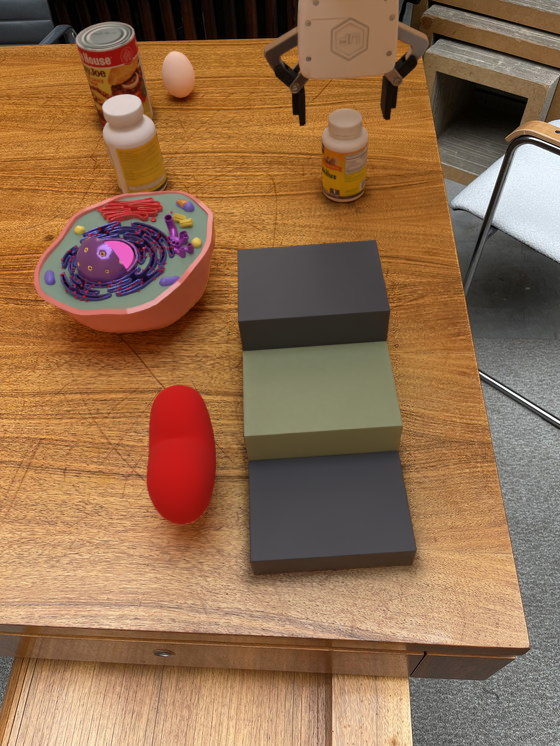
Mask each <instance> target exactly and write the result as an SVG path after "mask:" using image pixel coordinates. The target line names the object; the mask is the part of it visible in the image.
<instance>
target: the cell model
mask: <svg viewBox="0 0 560 746" xmlns="http://www.w3.org/2000/svg"><path fill="white" fill-rule="evenodd" d="M215 247H216V228H215V218H214V213H213V211H212V210H211V208H210V207H208V206H207V205H206V204H205V203H204V202H202V201H201V200H200V199H199V198H198V197H196V196H195V195H193V194H191V193H189V192H186V191H181V190H163V191H156V192H141V193H127V194H122V193H121V194H117V195H114V196H112V197H109V198H107V199H104V200H102V201H100V202H96V203H94V204H91V205H89V206H88V205H87V206H86V207H84V208H82V209H81V210H78V211H77V212H75V213H74V214H73V215H71V217H69V219H68V221H67V222H66V224H65V225H64V227H63V229H62V230H61V232H60V233H59V235H58V236H57V238H56V239H55V240H54V241H53V242H52V243H51V244H50V245H49V246H48V247H47V248H46V250H44V251H43V253H42V254H41V255H40V258H39V259H38V261H37V263H36V265H35V268H34V274H33V283H34V288H35V291H36V294H37V295H38V296H39V297H40V298H41V299H42V300H44V301H46V302H47V303H48V304H50V305H52V306H54V307H55V308H58V309H59V310H60V311H62V312H63V313H65V314H66V315H68V316H69V317H71V318H72V319H73V320H75V321H76V322H78V323H80V324H81V325H84V326H85V327H87V328H90V329H92V330H96V331H99V332H102V333H103V332H104V333H114V334H115V333H117V334H119V333H120V334H123V333H127V334H129V333H141V332H148V331H149V332H150V331H155V330H161V329H164V328H167V327H169V326H171V325H173V324H175V323H176V322H177V321H179V320H180V319H181V318H182V317H184V316H185V315H186V314H187V313H188V312H189V311H190V310H191V309H192V308H193V307H194V306H195V305H196V304H197V303H198V302H199V301H200V300H201V298H202V297H203V295H204V294H205V292H206V289H207V286H208V284H209V283H208V282H209V280H210V272H211V261H212V257H213V252H214V250H215Z"/></svg>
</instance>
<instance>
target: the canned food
mask: <svg viewBox="0 0 560 746" xmlns="http://www.w3.org/2000/svg"><path fill="white" fill-rule="evenodd" d="M75 44H76V47H77V51H78V53H79V56H80V57H79V58H80V60H81V63H82V66H83V67H82V68H83V70H84V73H85V77H86V80H87V83H88V86H89V89H90V94H91V96H92V99H93V102H94V106H95V109H96V113H97V115H98V119H99V123H100V125H101V127H102V128H103V129H104V127H105V125H106V123H107V121H106V120H105V118H104V114H103V110H102V106H103V104H104V102H105V101H107V100H108V99H110V98H112V97H114V96H118V95H124V94H129V95H134V96H137V97H138V98H139V99H140V100H141V102H142V106H143V110H144V113H143V114H144V115H146V116H147V117H149V118H150V119H151V120H152V119H153V118H154V111H153V107H152V102H151V98H150V94H149V89H148V85H147V81H146V80H147V79H146V75H145V71H144V68H143V63H142V58H141V55H140V50H139V46H138V41H137V37H136V33H135V29H134V28H133V27H132V26H131V25H130V24H128V23H125V22H120V21H106V22H100V23H95V24H93V25H92V24H91V25H90V26H88V27H86V28H84V29H83V30H81V31H79V33H78V34H77V35H76V37H75ZM152 121H153V120H152Z"/></svg>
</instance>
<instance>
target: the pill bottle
mask: <svg viewBox="0 0 560 746" xmlns="http://www.w3.org/2000/svg"><path fill="white" fill-rule="evenodd" d="M102 110H103V114H104V118H105V120H106V121H107V123H106V125H105V127H104V128H103V130H102V138H103V142H104V146H105V149H106V152H107V154H108V159H109V161H110V164H111V167H112V170H113V173H114V177H115V180H116V183H117V186H118V189H119V191H120V192H121V194H127V193H141V192H156V191H165V189H166V187H167V185H168V176H167V171H166V170H167V169H166V167H165V162H164V157H163V154H162V150H161V146H160V141H159V137H158V132H157V129H156V128H157V127H156V125H155V123H154V121H153V120H151V119H150V118H149V117H147V116H146V115H144V114H143V113H144V110H143V106H142V102H141V100H140V99H139V98H138V97H137V96H134V95H129V94H124V95H118V96H114V97H112V98H110V99H108V100H107V101H105V102H104V104H103V106H102Z"/></svg>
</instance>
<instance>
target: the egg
mask: <svg viewBox="0 0 560 746" xmlns="http://www.w3.org/2000/svg"><path fill="white" fill-rule="evenodd" d="M161 79H162V82H163V85H164V88H165V89H166V91H167V92H168V93H169V94H170V95H172V96H173V97H176V98H178V99H183V98H186V97H187V96H189V95H190V94H191V93H192V91H193V89H194V87H195V84H196V83H195V82H196V76H195V71H194V68H193V65H192V63H191V62H190V60H189V59H188V57H187V56H186V55H185V54H183V53H182V52H181V51H177V50H174V51H170V52H168V54H167V55H166V56H165V58H164V60H163V62H162V67H161Z"/></svg>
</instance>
